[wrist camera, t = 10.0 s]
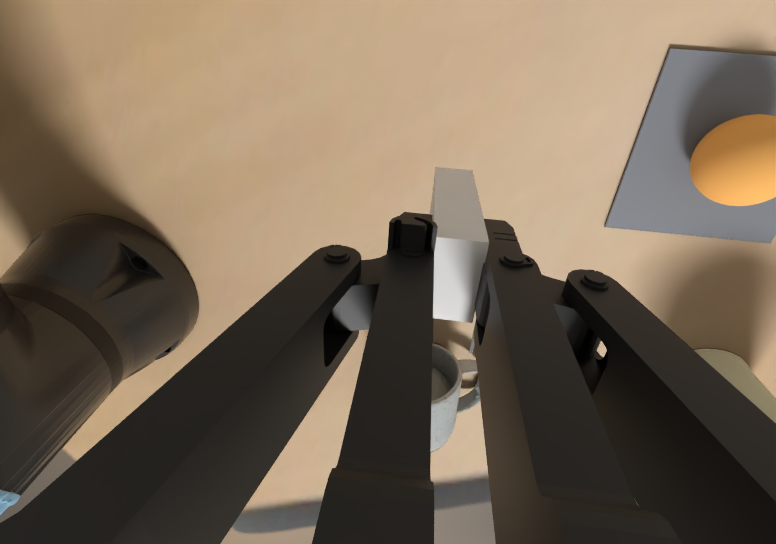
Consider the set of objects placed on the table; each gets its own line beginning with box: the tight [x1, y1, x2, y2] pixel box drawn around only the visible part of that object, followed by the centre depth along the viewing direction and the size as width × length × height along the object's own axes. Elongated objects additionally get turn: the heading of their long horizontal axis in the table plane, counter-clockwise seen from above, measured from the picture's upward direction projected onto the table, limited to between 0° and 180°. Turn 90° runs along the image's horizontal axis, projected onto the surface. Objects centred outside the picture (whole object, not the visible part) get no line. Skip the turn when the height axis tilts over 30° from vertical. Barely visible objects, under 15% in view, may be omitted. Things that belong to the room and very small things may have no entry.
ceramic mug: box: [430, 344, 481, 453], centre depth 38 cm, size 11×8×8 cm
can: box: [694, 349, 776, 423], centre depth 33 cm, size 9×9×12 cm
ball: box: [690, 114, 776, 206], centre depth 25 cm, size 6×6×6 cm
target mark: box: [605, 48, 776, 243], centre depth 28 cm, size 12×12×1 cm
